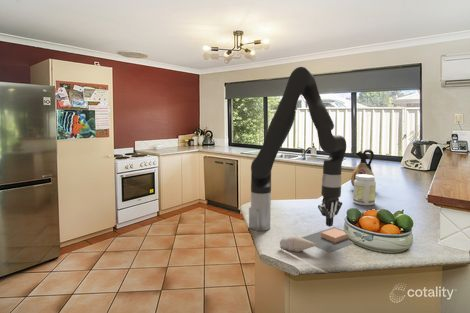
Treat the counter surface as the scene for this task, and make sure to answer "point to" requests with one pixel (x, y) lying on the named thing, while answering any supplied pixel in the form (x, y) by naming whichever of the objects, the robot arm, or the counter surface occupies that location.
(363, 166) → the ceramic jug
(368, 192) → the supplement tub
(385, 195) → the counter surface
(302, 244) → the ice cream cone
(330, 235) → the tile
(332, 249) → the mat
